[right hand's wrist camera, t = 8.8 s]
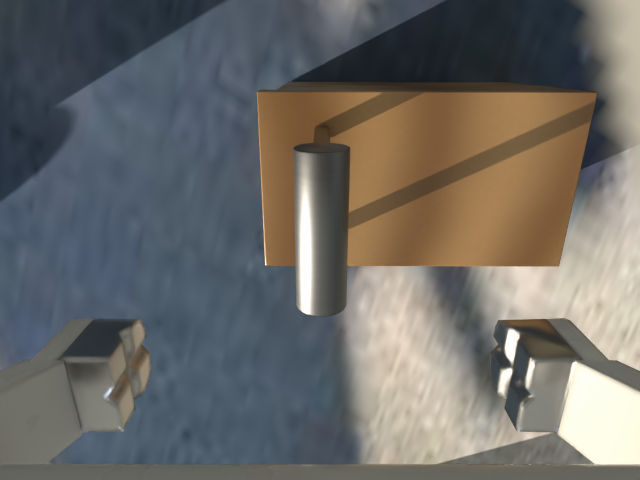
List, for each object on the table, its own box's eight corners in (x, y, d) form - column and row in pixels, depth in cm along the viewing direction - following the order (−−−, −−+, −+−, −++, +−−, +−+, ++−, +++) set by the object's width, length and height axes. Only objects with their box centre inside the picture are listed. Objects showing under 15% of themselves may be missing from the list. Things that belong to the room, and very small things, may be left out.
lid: (267, 256, 26) (242, 348, 18) (260, 89, 23) (224, 106, 14) (548, 257, 26) (655, 350, 18) (584, 90, 23) (737, 107, 14)
